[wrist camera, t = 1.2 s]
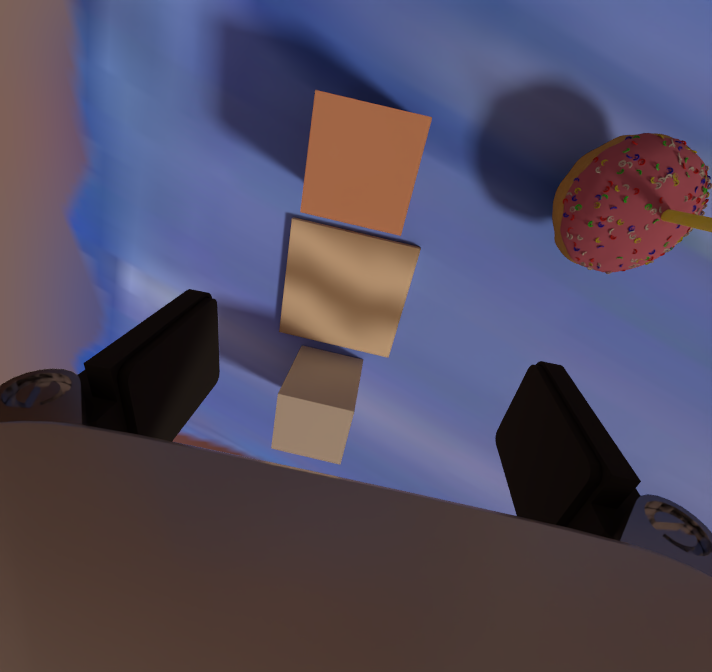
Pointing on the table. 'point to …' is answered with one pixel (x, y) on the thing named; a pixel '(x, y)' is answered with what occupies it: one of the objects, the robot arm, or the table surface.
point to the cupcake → (630, 202)
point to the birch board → (345, 286)
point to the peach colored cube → (362, 162)
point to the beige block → (317, 404)
